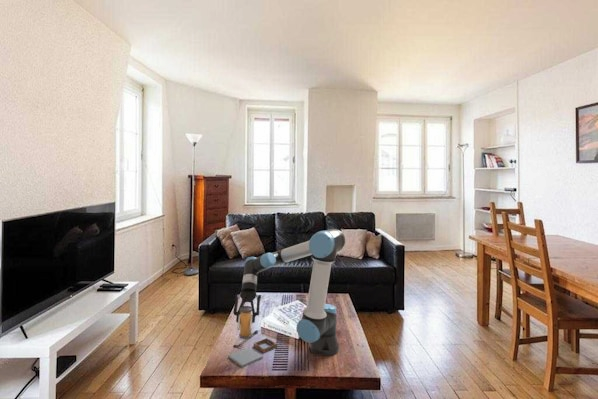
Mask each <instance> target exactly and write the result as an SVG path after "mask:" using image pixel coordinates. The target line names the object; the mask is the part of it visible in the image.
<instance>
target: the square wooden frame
mask: <svg viewBox="0 0 598 399" xmlns="http://www.w3.org/2000/svg"><path fill="white" fill-rule="evenodd" d="M265 343H268V344H270V346H268V347H263V346H261V345H263V344H265ZM253 347H254V348H255V349H257V350H258V351H260V352H262V353H268V352H270V351H272V350H274V349H277V348H278V343H277V342H275V341H273V340H272V339H269V338H268V337H266V338H263V339H261V340H258V341H255V342H254V343H253Z"/></svg>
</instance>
